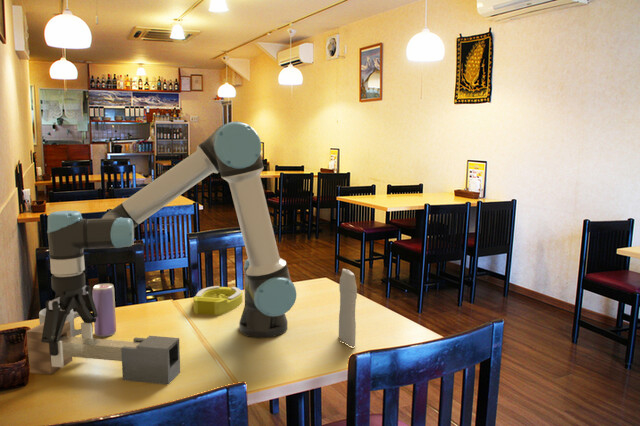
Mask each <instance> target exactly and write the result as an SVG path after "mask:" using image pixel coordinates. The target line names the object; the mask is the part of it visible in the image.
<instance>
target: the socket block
mask: <svg viewBox="0 0 640 426" xmlns="http://www.w3.org/2000/svg"><path fill="white" fill-rule="evenodd" d="M43 327H44V323H42V324H40V323H39V324H38V325H36V326H34V327H32V328H30V329H28V330H26V332H25V333H26V342H27V343H26V344H27V354H28V355H27V356H28V357H27V358H28V366H29V365H30V370H29V373H30V374H39V375H48V376H49V375H50V376H51V375H53V374H55V373H56V372H58V371H59V370H60V369H62V368H64V367H65V366H67V365H68V364H70V363H71V362H73V357H70V356H63V361H64V366H63V367H53V366H52V363H51V355H50V350H49V343H42V342H41V339H42V333H43ZM61 336H69V337H71V332H70V321H65V324H64V327H63V330H62V333H61Z"/></svg>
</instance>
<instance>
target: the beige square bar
mask: <svg viewBox="0 0 640 426" xmlns="http://www.w3.org/2000/svg"><path fill="white" fill-rule="evenodd" d="M59 341H62V347H63V356H70V357H72V358H80V359H81V358H82V359H93V360H104V361H115V362H122V354H121V348H122V347H123V346H125V347H136V346H137V345H138V344H140V342H134V341H127V340H116V339H115V340H114V339H103V338H102V339H101V338H94V337H93V338H82V336H80V337H79V336H77V337H76V336H75V337H69V336H61V337H60V340H59Z"/></svg>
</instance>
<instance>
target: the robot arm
mask: <svg viewBox="0 0 640 426" xmlns="http://www.w3.org/2000/svg"><path fill="white" fill-rule="evenodd" d="M261 153H262V141H261V139H260V136H259V134H258V132H257V131H256V130H255V129H254V128H253V127H252V126H251V125H250V124H247V123H245V122H242V121H230V122H228V123H224V124H222V125H220V126H219V127H217V128H216V129H215V130H214V132H212V133H211V135H209V136H208V137H207V138H206V139H205V140H204V141H202V142H201V143H200V144H198V145H197V146H196V151H194V152H192V154H190V155H188V156H187V157H186V158H184V159H183V160H181V161H180V162H178V163H177V164H176V165H174V166H172V167H171V168H169V170H167V171H165V172H164V173H162V174H160V176H158V177H157V178H156V179H154V180H153V181H151V182H150V183H148V184H146V186H144V187H143V188H141V189H139V190H138V191H137V192H136V193H134V194H132V195H131V196H129V197H128V198H127V199H126V200H124V201H122V203H120V204H118V205H117V206H116V207H113V208H112V209H110V210H108V211H107V212H104V214H103V215H102V216H101V218H83V216H82V213H81V211H78V210H60V211H59V210H58V211H54V212H51V213H49V214H48V216H47V231H46V233H47V239H48V241H47V242H48V249H49V252H48V253H49V261H50V262H49V263H50V266H49V267H50V273H51V274H52V275H51V276H50V279H51V280H50V282H51V283H50V284H51V289H52V291H54V292H55V296H54V299H52V300H46V302H45V308H46V315H45V321H44V327H43V333H42V339H41V342H42V343H49V350H50V355H51V363H52V366H53V367H62V368H64V367H65V366H64V361H63V347H62V341H59V340H60V337H61V333H62V330H63V327H64V324H65V321H66V318H67V315H69V314H70V311H71V310H72V309H73V310H75V312H77V313H78V314H79V316H80V317H79V318H80V319H81V320H82V322H81V323H80V329H81V333H82V334H81V338H93V339H94V337H93V335H94V334H93V331H94V330H93V328H94V325H93V323H94V322H96V317H97V316H98V313H97V310H96V307H95V304H94V301H93V294H92V287H91V285H86V274H85V272H84V271H85V270H86V266H85V253H84V250H91V249H92V250H93V249H94V250H95V249H112V248H113V249H121V248H127V247H132V245H134V242H135V228H136V227H137V226H138V225H140V224H141V223H143V222H144V221H145V220H147V219H148V218H150V217H151V216H153V215H154V214H156V213H157V212H158V211H160V210H161V209H163V208H164V207H165V206H167V205H168V204H170V203H171V202H173V201H174V200H176V199H177V198H178V197H180V196H181V195H182V194H184V193H186V192H187V191H188V190H190V189H192V188H193V187H194V186H195V185H197V184H198V183H200V182H201V181H202V180H204V179H205V178H207V177H208V176H210V175H211V174H213V173H214V174H218V173H220V177H221V179H223V180H225V181H226V182H227V183H228V185H229V189H230V192H231V197H232V201H233V205H234V209H235V213H236V216H237V220H238V221H237V222H238V225H239V227H240V232H241V236H242V240H243V245H244V248H245V252H246V256H247V259H245V261H244V265H243V266H244V267H243V270H244V271H243V272H244V274H243V275H244V306H243V310H242V313H241V316H240V319H239V322H238V323H239V324H238V325H239V326H238V329H239V332H240V333H241V334H243V335H244V336H247V337H251V338H257V339H258V338H259V339H260V338H261V339H264V338H273V337H277V336H280V335H282V334H284V333H285V332H286V331H287V330H288V319H287V316H286V313H288V312H289V311H290V310H291V309H292V307H293V306H294V305H295V303H296V299H297V288H296V286H295V284H294V283H293V282H292V280H291V276H290V272H289V267H288V263H287V261H286V260H285V259H283V258H281V257H280V254H279V249H278V245H277V241H276V240H277V239H276V237H275V232H274V228H273V224H272V221H271V215H270V212H269V208H268V204H267V199H266V195H265V191H264V186H263V182H262V178H261V173H262V172H263V170H264V163H263V158H262V154H261ZM60 308H61V309H62V310H65V311H60ZM84 322H85V323H84ZM279 334H280V335H279ZM276 335H277V336H276ZM63 366H64V367H63Z"/></svg>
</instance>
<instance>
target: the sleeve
mask: <svg viewBox="0 0 640 426" xmlns="http://www.w3.org/2000/svg"><path fill="white" fill-rule="evenodd" d="M132 342H140V344H138V345H137V346H136V347H125V346H123V347H122V348H121V354H122V361H121V369H122V381H127V382H128V381H129V382H139V383H148V384H158V385H167V384H169V383H170V382H171V381H172V382H173V380H175V378H176V377H177V376H178V375H179V374H180V373H181V355H180V353H181V351H180V350H181V349H180V337H172V336H171V337H170V336H169V337H168V336H159V335H158V336H157V335H148V336H147V337H134V338H133V341H132ZM172 382H171V383H172ZM171 383H170V384H171ZM170 384H169V385H170Z"/></svg>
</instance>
